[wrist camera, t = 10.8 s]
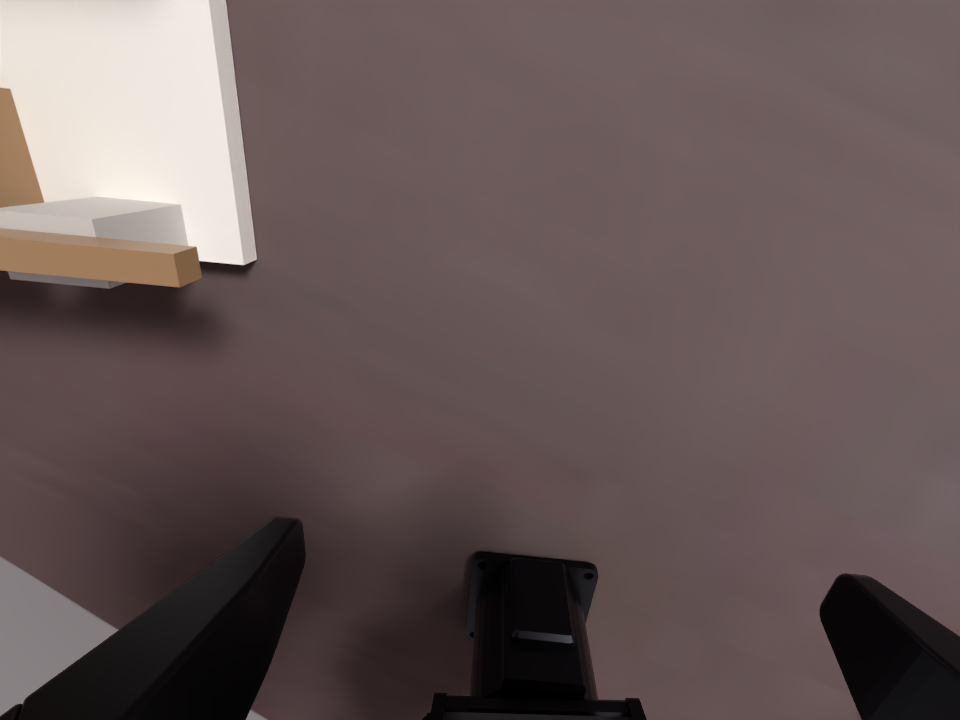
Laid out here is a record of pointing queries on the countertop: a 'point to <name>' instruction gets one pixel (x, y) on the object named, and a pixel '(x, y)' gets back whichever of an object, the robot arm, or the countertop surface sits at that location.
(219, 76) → the display stand
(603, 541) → the countertop surface
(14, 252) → the wooden c-shaped bracket
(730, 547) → the countertop surface
